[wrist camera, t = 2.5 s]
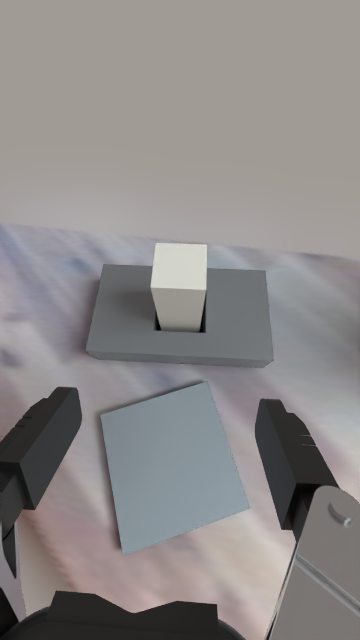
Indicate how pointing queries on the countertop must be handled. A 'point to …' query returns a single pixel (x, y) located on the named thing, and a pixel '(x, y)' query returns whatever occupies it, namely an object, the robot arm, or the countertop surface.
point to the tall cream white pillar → (179, 285)
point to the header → (182, 347)
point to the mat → (170, 467)
